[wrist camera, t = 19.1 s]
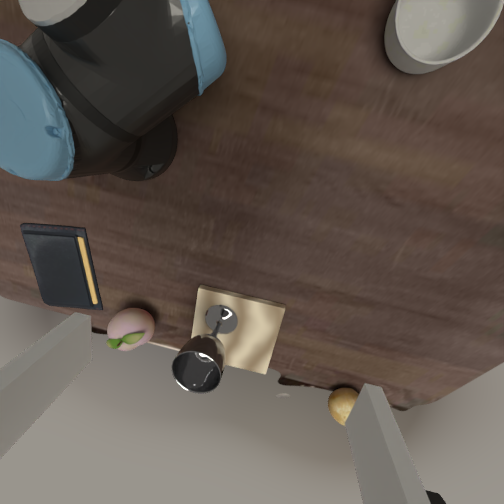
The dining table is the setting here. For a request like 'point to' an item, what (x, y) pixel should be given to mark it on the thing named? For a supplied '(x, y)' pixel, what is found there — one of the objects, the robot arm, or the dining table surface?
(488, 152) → the dining table surface
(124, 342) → the decorative fruit
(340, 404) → the onion
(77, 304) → the wallet
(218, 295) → the board
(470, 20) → the teacup
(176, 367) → the wine glass
